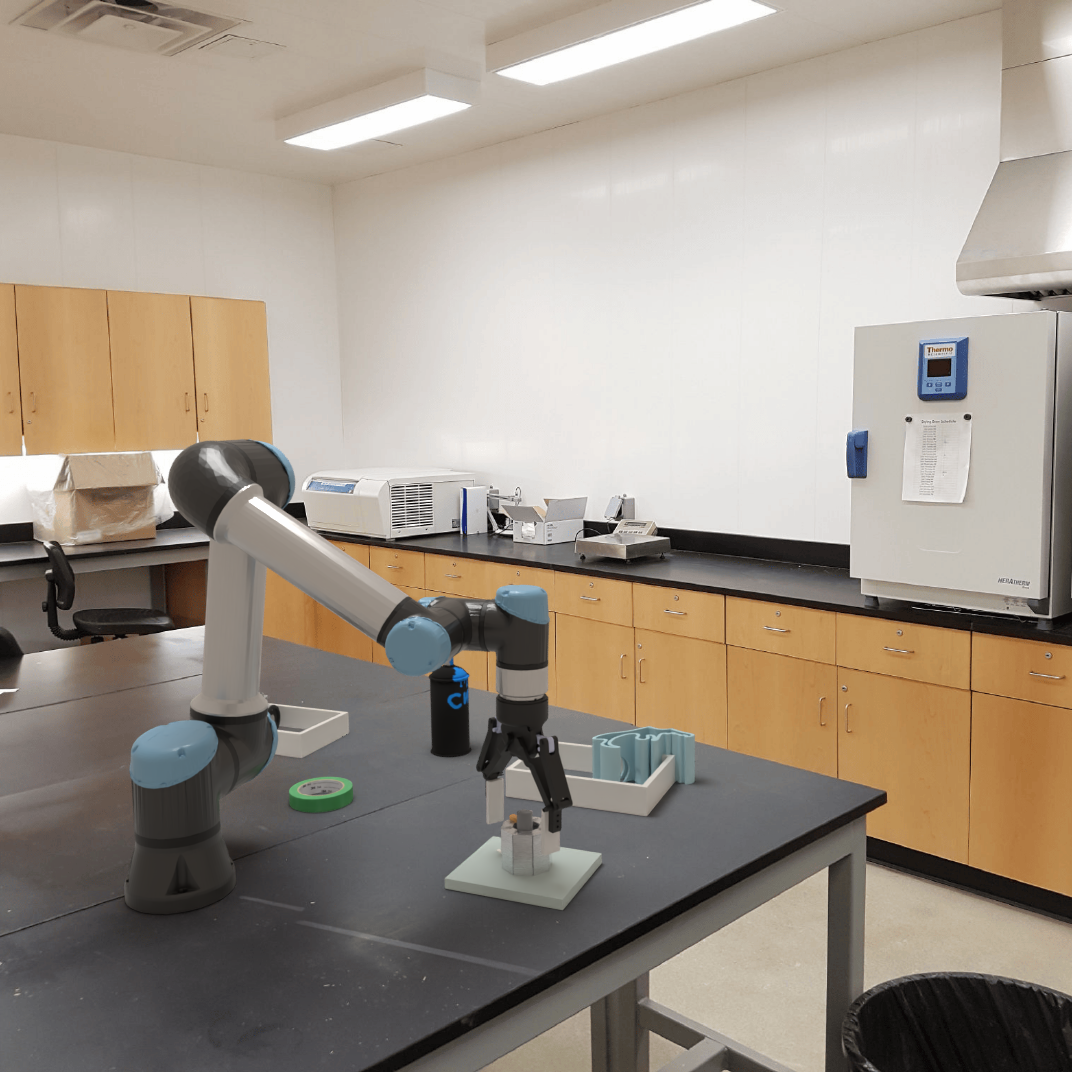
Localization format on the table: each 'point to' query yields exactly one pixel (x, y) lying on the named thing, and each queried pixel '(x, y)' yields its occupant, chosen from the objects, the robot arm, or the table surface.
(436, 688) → the aerosol can
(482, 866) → the peg stand
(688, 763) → the light blue curvy piece
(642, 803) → the dispenser corral
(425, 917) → the table surface
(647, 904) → the table surface
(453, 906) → the table surface
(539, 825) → the grey piece
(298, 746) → the camera corral
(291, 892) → the table surface
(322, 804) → the tape roll
